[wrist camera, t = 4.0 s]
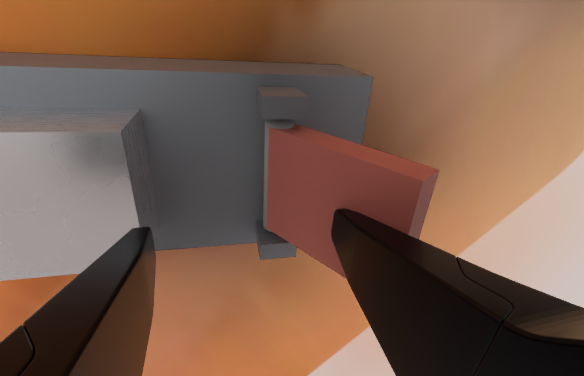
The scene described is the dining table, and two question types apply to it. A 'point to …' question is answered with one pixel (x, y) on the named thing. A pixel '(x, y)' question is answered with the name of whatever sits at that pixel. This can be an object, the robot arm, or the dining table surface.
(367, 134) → the dining table surface
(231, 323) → the dining table surface
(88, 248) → the light grey flat block
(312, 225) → the lever
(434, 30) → the dining table surface
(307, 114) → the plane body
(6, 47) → the dining table surface
